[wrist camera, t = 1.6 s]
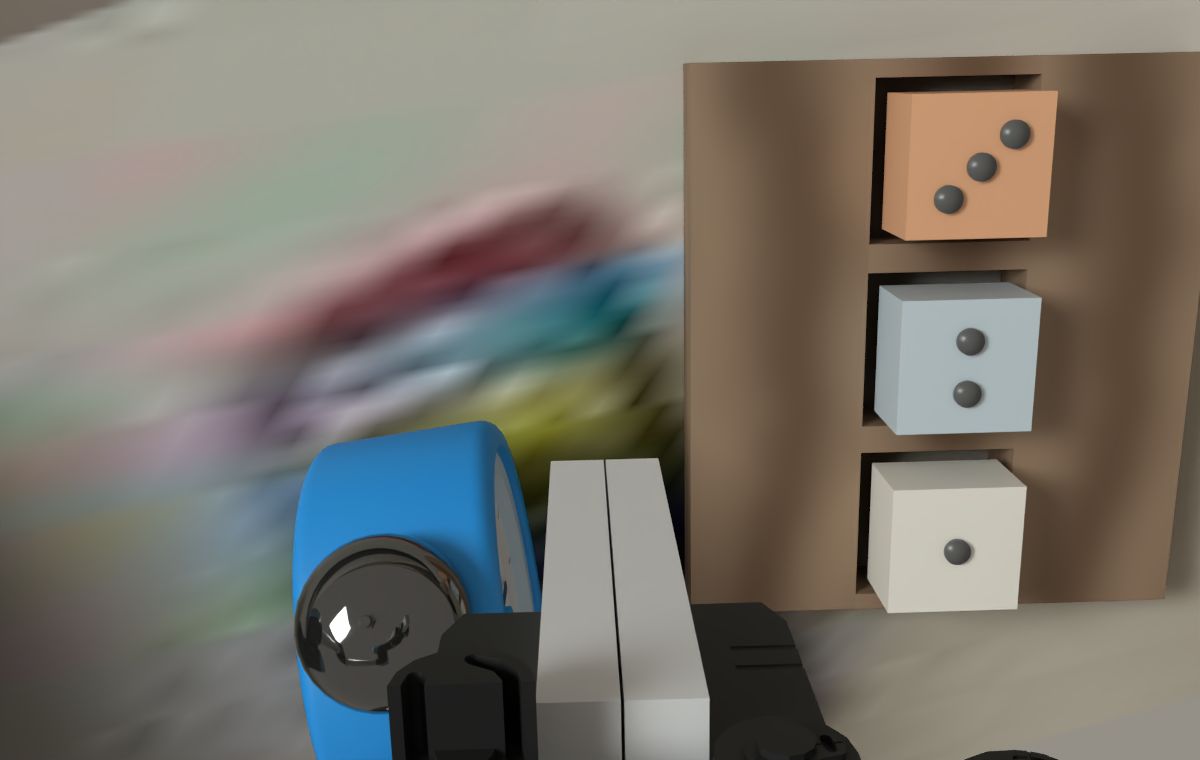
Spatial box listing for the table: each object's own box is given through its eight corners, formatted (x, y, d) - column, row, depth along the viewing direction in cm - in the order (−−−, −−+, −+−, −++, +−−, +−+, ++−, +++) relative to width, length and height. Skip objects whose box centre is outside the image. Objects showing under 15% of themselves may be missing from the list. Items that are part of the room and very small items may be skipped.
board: (684, 586, 46) (691, 613, 43) (683, 63, 40) (690, 63, 38) (1134, 572, 46) (1164, 599, 44) (1190, 52, 41) (1227, 51, 38)
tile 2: (867, 578, 43) (889, 615, 40) (872, 462, 42) (895, 492, 39) (988, 574, 43) (1019, 611, 40) (996, 459, 42) (1029, 488, 39)
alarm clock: (560, 682, 47) (556, 957, 32) (410, 705, 47) (338, 990, 32) (503, 374, 43) (469, 526, 29) (341, 399, 43) (226, 564, 29)
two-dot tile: (874, 410, 42) (897, 436, 39) (879, 285, 40) (904, 302, 37) (1000, 406, 42) (1033, 432, 39) (1009, 282, 41) (1044, 298, 38)
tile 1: (881, 228, 40) (907, 241, 37) (887, 92, 39) (914, 94, 36) (1012, 225, 40) (1049, 238, 37) (1022, 89, 39) (1060, 90, 36)
